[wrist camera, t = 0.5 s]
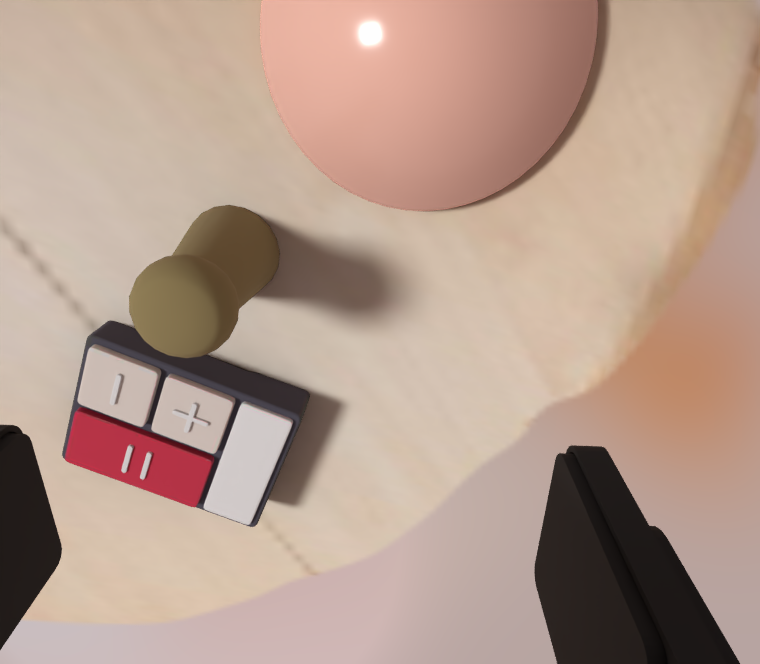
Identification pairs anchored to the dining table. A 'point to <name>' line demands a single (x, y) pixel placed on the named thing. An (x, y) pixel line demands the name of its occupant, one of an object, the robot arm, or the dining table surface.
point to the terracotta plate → (426, 90)
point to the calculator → (181, 424)
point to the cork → (204, 282)
